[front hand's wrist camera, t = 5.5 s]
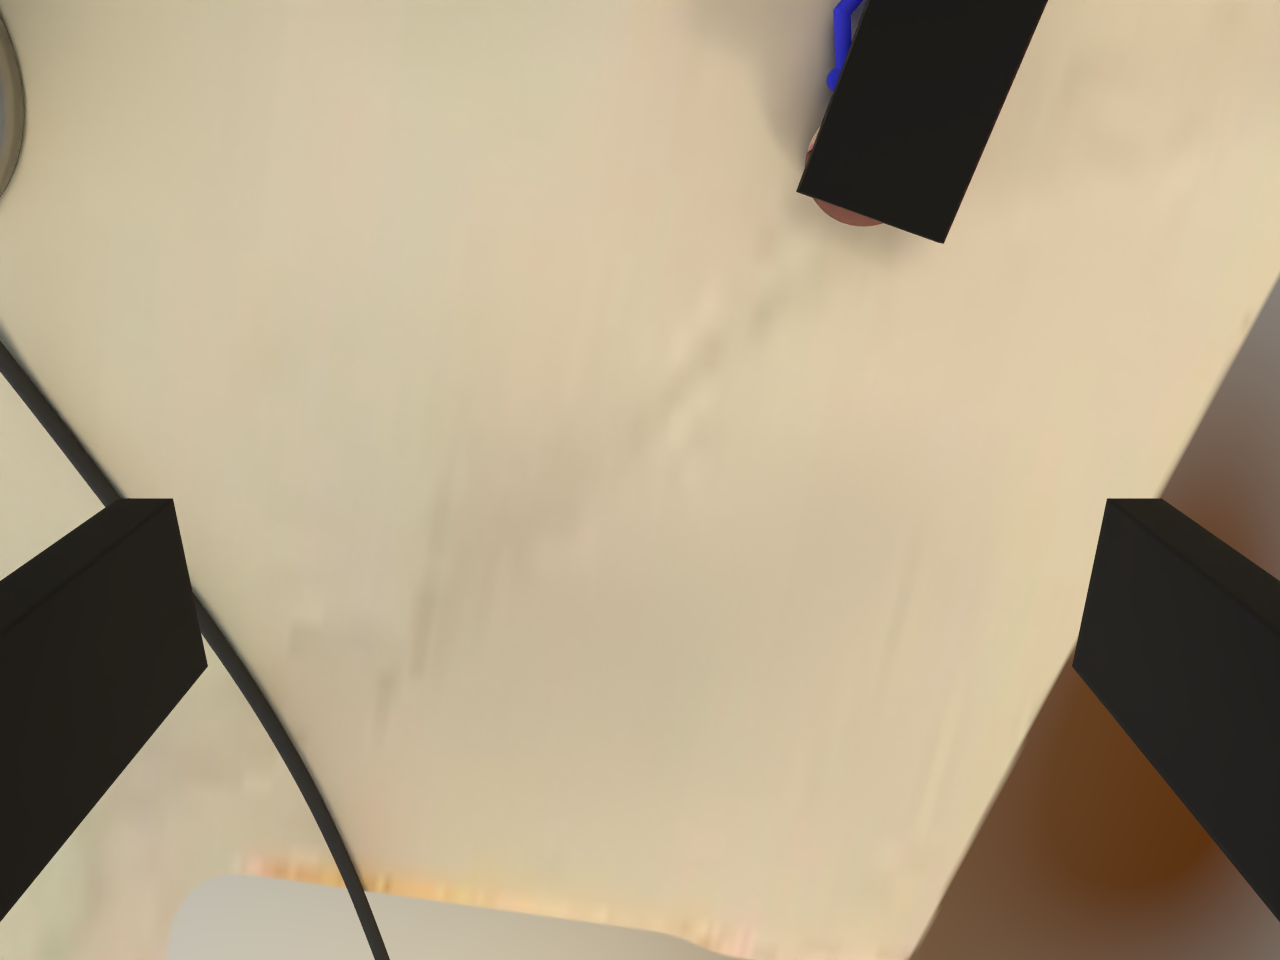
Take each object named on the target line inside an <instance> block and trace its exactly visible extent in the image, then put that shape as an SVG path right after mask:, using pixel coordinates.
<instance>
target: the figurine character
mask: <svg viewBox="0 0 1280 960" xmlns="http://www.w3.org/2000/svg"><path fill="white" fill-rule="evenodd" d="M862 1H863V0H841V1H840V2H839V4H838V5H837V6H836V7H835V8H834V41H835V68H834V69H833V70H832V71H831V72H830V73H829V74H828V76H827V85H828V87H829V88H830V89H831V90H832V91H833V94H832V97H831V99H830V102H829V105H828V107H827V110H826V113H825V115H824V118H823V121H822V124H821V126H820V127H819V129H818V130H817V131H816V133H815V135H814V136H813V138H812V140H811V143H810V145H809V148H808V151H807V156H806V163H805V169H804V172H803V175H802V178H801V180H800V183H799V186H798V188H797V191H796V192H798V193H801V194H804V195H807V196H810V197H812V198H813V199H814V200H815V202H816V203H817V204H818V206H819V207H820V208H821V209H822V210H823V211H824V212H825V213H827V214H828V215H829V216H830V217H832V218H834V219H836V220H838V221H840V222H842V223H845V224H849V225H854V226H874V225H878V224H882V223H885V224H888V225H891V226H893V227H896V228H899V229H902V230H905V231H907V232H910V233H913V234H916V235H919V236H921V237H924V238H927V239H930V240H933V241H935V242H938V243H943V244H944V242H945V239H946V237H947V235H948V232H949V230H950V228H951V225H952V223H953V221H954V218H955V216H956V214H957V211H958V209H959V207H960V204H961V202H962V200H963V197H964V195H965V193H966V190H967V188H968V186H969V183H970V181H971V179H972V176H973V174H974V172H975V169H976V167H977V165H978V162H979V160H980V158H981V155H982V153H983V151H984V148H985V146H986V144H987V141H988V139H989V137H990V134H991V132H992V130H993V127H994V125H995V123H996V120H997V118H998V116H999V113H1000V111H1001V109H1002V106H1003V104H1004V102H1005V99H1006V97H1007V95H1008V92H1009V90H1010V88H1011V85H1012V83H1013V81H1014V78H1015V76H1016V74H1017V71H1018V69H1019V67H1020V64H1021V62H1022V60H1023V57H1024V55H1025V53H1026V50H1027V48H1028V46H1029V43H1030V41H1031V39H1032V36H1033V34H1034V32H1035V29H1036V27H1037V25H1038V22H1039V20H1040V18H1041V15H1042V13H1043V11H1044V8H1045V6H1046V4H1047V1H1048V0H867V2H866V5H865V8H864V10H863V13H862V16H861V18H860V21H859V24H858V27H857V29H856V32H855V35H854V37H853V40H852V43H851V14H852V13H853V12H854V10H855V9H856V8H857V7H858V6H859V4H860V3H861V2H862Z"/></svg>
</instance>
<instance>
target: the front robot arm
mask: <svg viewBox="0 0 1280 960" xmlns="http://www.w3.org/2000/svg"><path fill="white" fill-rule="evenodd" d="M22 133H23V94H22V85H21V80H20V74H19V69H18V65H17V61H16V57H15V54H14V50H13V47H12V44H11V41H10V38H9V36H8V33H7V30H6V27H5V25H4V23H3V21H2V19H1V17H0V196H1V195H2V193H3V192H4V190H5V188H6V187H7V185H8V182H9V180H10V178H11V176H12V174H13V171H14V168H15V165H16V162H17V159H18V156H19V151H20V146H21V142H22ZM0 372H1V373H2V374H3V376H4V377H5V378H6V379H7V381H8V382H9V383H10V384H11V386H12V387H13V388H14V390H15V391H16V392H17V393H18V395H19V396H20V397H21V398H22V400H23V401H24V402H25V404H26V405H27V406H28V407H29V409H30V410H31V411H32V413H33V414H34V415H35V416H36V418H37V419H38V420H39V422H40V423H41V424H42V425H43V427H44V428H45V429H46V431H47V432H48V433H49V434H50V436H51V437H52V438H53V440H54V441H55V442H56V443H57V445H58V446H59V447H60V449H61V450H62V451H63V452H64V454H65V455H66V456H67V458H68V459H69V460H70V462H71V463H72V464H73V465H74V467H75V468H76V469H77V471H78V472H79V473H80V475H81V476H82V477H83V478H84V480H85V481H86V482H87V484H88V485H89V486H90V488H91V489H92V490H93V492H94V493H95V494H96V495H97V497H98V498H99V499H100V501H101V502H102V503H103V505H104V506H105V507H106V508H104V509H103V510H101V511H100V512H98V513H97V514H96V515H94V516H93V517H91V518H90V519H88V520H87V521H86V522H84V523H83V524H81V525H80V526H78V527H77V528H76V529H74V530H73V531H71V532H70V533H68V534H67V535H66V536H64V537H63V538H61V539H60V540H58V541H57V542H56V543H54V544H53V545H51V546H50V547H48V548H47V549H45V550H44V551H43V552H41V553H40V554H38V555H37V556H35V557H34V558H33V559H31V560H30V561H28V562H27V563H25V564H24V565H23V566H21V567H20V568H18V569H17V570H15V571H14V572H13V573H11V574H10V575H8V576H7V577H5V578H4V579H3V580H1V581H0V922H1V920H2V919H3V918H4V917H5V915H6V914H7V913H8V912H9V910H10V909H11V908H12V907H13V906H14V904H15V903H16V902H17V901H18V899H19V898H20V897H21V896H22V894H23V893H24V892H25V891H26V890H27V888H28V887H29V886H30V885H31V883H32V882H33V881H34V880H35V878H36V877H37V876H38V875H39V874H40V872H41V871H42V870H43V869H44V867H45V866H46V865H47V864H48V862H49V861H50V860H51V859H52V858H53V856H54V855H55V854H56V853H57V851H58V850H59V849H60V848H61V846H62V845H63V844H64V843H65V842H66V840H67V839H68V838H69V837H70V835H71V834H72V833H73V832H74V830H75V829H76V828H77V827H78V826H79V824H80V823H81V822H82V821H83V819H84V818H85V817H86V816H87V814H88V813H89V812H90V811H91V810H92V808H93V807H94V806H95V805H96V803H97V802H98V801H99V800H100V798H101V797H102V796H103V795H104V794H105V792H106V791H107V790H108V789H109V787H110V786H111V785H112V784H113V782H114V781H115V780H116V779H117V777H118V776H119V775H120V774H121V773H122V771H123V770H124V769H125V768H126V766H127V765H128V764H129V763H130V761H131V760H132V759H133V758H134V757H135V755H136V754H137V753H138V752H139V750H140V749H141V748H142V747H143V745H144V744H145V743H146V742H147V741H148V739H149V738H150V737H151V736H152V734H153V733H154V732H155V731H156V729H157V728H158V727H159V726H160V725H161V723H162V722H163V721H164V720H165V718H166V717H167V716H168V715H169V713H170V712H171V711H172V710H173V709H174V707H175V706H176V705H177V704H178V702H179V701H180V700H181V699H182V697H183V696H184V695H185V694H186V693H187V691H188V690H189V689H190V688H191V686H192V685H193V684H194V683H195V681H196V680H197V679H198V678H199V677H200V675H201V674H202V673H203V672H204V670H205V669H206V668H207V667H208V665H207V660H206V655H205V651H204V646H203V641H202V636H201V633H202V635H203V636H204V638H205V639H206V640H207V642H208V643H209V645H210V646H211V648H212V649H213V650H214V652H215V653H216V655H217V656H218V658H219V659H220V661H221V662H222V663H223V665H224V666H225V668H226V669H227V671H228V672H229V674H230V675H231V677H232V678H233V680H234V681H235V683H236V684H237V686H238V687H239V689H240V690H241V692H242V693H243V695H244V696H245V698H246V699H247V701H248V702H249V704H250V705H251V707H252V709H253V710H254V712H255V713H256V715H257V717H258V718H259V720H260V721H261V723H262V725H263V726H264V728H265V730H266V731H267V733H268V735H269V736H270V738H271V740H272V741H273V743H274V745H275V746H276V748H277V750H278V752H279V753H280V755H281V757H282V758H283V760H284V762H285V764H286V765H287V767H288V769H289V771H290V772H291V774H292V776H293V778H294V780H295V781H296V783H297V785H298V787H299V789H300V791H301V792H302V794H303V796H304V798H305V800H306V802H307V804H308V806H309V808H310V810H311V812H312V814H313V816H314V818H315V820H316V822H317V824H318V826H319V828H320V830H321V832H322V834H323V836H324V839H325V841H326V843H327V845H328V847H329V849H330V851H331V853H332V856H333V858H334V860H335V862H336V864H337V866H338V869H339V871H340V873H341V875H342V878H343V880H344V882H345V885H346V887H347V889H348V892H349V894H350V897H351V899H352V902H353V904H354V907H355V909H356V912H357V914H358V917H359V919H360V922H361V925H362V927H363V930H364V932H365V935H366V937H367V940H368V943H369V945H370V948H371V950H372V953H373V956H374V958H375V960H390V959H389V956H388V953H387V951H386V948H385V945H384V943H383V940H382V937H381V934H380V932H379V929H378V927H377V924H376V921H375V919H374V916H373V913H372V911H371V908H370V905H369V903H368V900H367V898H366V895H365V893H364V890H363V888H362V885H361V883H360V880H359V878H358V875H357V873H356V871H355V868H354V866H353V864H352V861H351V859H350V857H349V855H348V852H347V850H346V848H345V846H344V844H343V841H342V839H341V837H340V835H339V833H338V831H337V829H336V826H335V824H334V822H333V820H332V818H331V816H330V814H329V812H328V810H327V808H326V806H325V804H324V801H323V799H322V797H321V796H320V794H319V792H318V790H317V788H316V786H315V784H314V782H313V780H312V778H311V776H310V774H309V773H308V771H307V769H306V767H305V765H304V764H303V762H302V760H301V758H300V756H299V755H298V753H297V751H296V749H295V748H294V746H293V744H292V742H291V741H290V739H289V737H288V735H287V734H286V732H285V730H284V729H283V727H282V725H281V723H280V722H279V720H278V718H277V717H276V715H275V713H274V712H273V710H272V708H271V707H270V705H269V704H268V702H267V700H266V699H265V697H264V696H263V694H262V692H261V691H260V689H259V688H258V686H257V685H256V683H255V682H254V680H253V678H252V677H251V675H250V674H249V672H248V671H247V669H246V668H245V666H244V665H243V663H242V662H241V660H240V659H239V657H238V656H237V655H236V653H235V652H234V650H233V649H232V647H231V646H230V644H229V643H228V641H227V640H226V638H225V637H224V636H223V634H222V633H221V631H220V630H219V628H218V627H217V626H216V624H215V623H214V621H213V620H212V618H211V617H210V616H209V614H208V613H207V611H206V610H205V609H204V607H203V606H202V604H201V603H200V602H199V600H198V599H197V598H196V596H195V595H194V594H193V592H192V588H191V583H190V579H189V574H188V569H187V564H186V559H185V555H184V550H183V545H182V540H181V535H180V531H179V526H178V521H177V516H176V511H175V507H174V502H173V499H121V498H120V496H119V495H118V494H117V492H116V491H115V490H114V488H113V487H112V486H111V484H110V483H109V482H108V480H107V479H106V478H105V476H104V475H103V474H102V472H101V471H100V470H99V468H98V467H97V466H96V465H95V463H94V462H93V461H92V459H91V458H90V457H89V455H88V454H87V453H86V451H85V450H84V449H83V447H82V446H81V445H80V443H79V442H78V441H77V440H76V438H75V437H74V436H73V434H72V433H71V432H70V430H69V429H68V428H67V426H66V425H65V424H64V423H63V421H62V420H61V419H60V417H59V416H58V415H57V413H56V412H55V411H54V410H53V408H52V407H51V406H50V404H49V403H48V402H47V400H46V399H45V398H44V397H43V395H42V394H41V393H40V391H39V390H38V389H37V387H36V386H35V385H34V384H33V382H32V381H31V380H30V378H29V377H28V376H27V374H26V373H25V372H24V371H23V369H22V368H21V367H20V365H19V364H18V363H17V362H16V360H15V359H14V358H13V356H12V355H11V354H10V353H9V351H8V350H7V349H6V348H5V346H4V345H3V344H2V342H1V341H0ZM1072 667H1073V668H1074V669H1075V670H1076V672H1077V673H1078V674H1079V675H1080V677H1081V678H1082V679H1083V680H1084V681H1085V683H1086V684H1087V685H1088V686H1089V687H1090V689H1091V690H1092V691H1093V693H1094V694H1095V695H1096V696H1097V697H1098V699H1099V700H1100V701H1101V702H1102V704H1103V705H1104V706H1105V707H1106V709H1107V710H1108V711H1109V712H1110V713H1111V715H1112V716H1113V717H1114V718H1115V720H1116V721H1117V722H1118V723H1119V725H1120V726H1121V727H1122V728H1123V729H1124V731H1125V732H1126V733H1127V734H1128V736H1129V737H1130V738H1131V739H1132V740H1133V742H1134V743H1135V744H1136V745H1137V747H1138V748H1139V749H1140V750H1141V752H1142V753H1143V754H1144V755H1145V757H1146V758H1147V759H1148V760H1149V761H1150V763H1151V764H1152V765H1153V766H1154V768H1155V769H1156V770H1157V771H1158V773H1159V774H1160V775H1161V776H1162V777H1163V779H1164V780H1165V781H1166V782H1167V784H1168V785H1169V786H1170V787H1171V789H1172V790H1173V791H1174V792H1175V794H1176V795H1177V796H1178V797H1179V798H1180V800H1181V801H1182V802H1183V803H1184V805H1185V806H1186V807H1187V808H1188V810H1189V811H1190V812H1191V813H1192V814H1193V816H1194V817H1195V818H1196V819H1197V821H1198V822H1199V823H1200V824H1201V826H1202V827H1203V828H1204V829H1205V830H1206V832H1207V833H1208V834H1209V835H1210V837H1211V838H1212V839H1213V840H1214V842H1215V843H1216V844H1217V845H1218V846H1219V848H1220V849H1221V850H1222V851H1223V853H1224V854H1225V855H1226V856H1227V857H1228V859H1229V860H1230V861H1231V862H1232V864H1233V865H1234V866H1235V867H1236V869H1237V870H1238V871H1239V872H1240V874H1241V875H1242V876H1243V877H1244V878H1245V880H1246V881H1247V882H1248V883H1249V885H1250V886H1251V887H1252V888H1253V890H1254V891H1255V892H1256V893H1257V894H1258V896H1259V897H1260V898H1261V899H1262V901H1263V902H1264V903H1265V904H1266V906H1267V907H1268V908H1269V909H1270V910H1271V912H1272V913H1273V914H1274V915H1275V917H1276V918H1277V919H1278V920H1279V922H1280V581H1279V580H1277V579H1276V578H1275V577H1273V576H1272V575H1270V574H1269V573H1267V572H1266V571H1265V570H1263V569H1262V568H1260V567H1259V566H1257V565H1256V564H1255V563H1253V562H1252V561H1250V560H1249V559H1247V558H1246V557H1245V556H1243V555H1242V554H1240V553H1239V552H1237V551H1236V550H1235V549H1233V548H1232V547H1230V546H1229V545H1227V544H1226V543H1224V542H1223V541H1222V540H1220V539H1219V538H1217V537H1216V536H1214V535H1213V534H1212V533H1210V532H1209V531H1207V530H1206V529H1204V528H1203V527H1202V526H1200V525H1199V524H1197V523H1196V522H1194V521H1193V520H1192V519H1190V518H1189V517H1187V516H1186V515H1184V514H1183V513H1182V512H1180V511H1179V510H1177V509H1176V508H1174V507H1173V506H1172V505H1170V504H1169V503H1167V502H1166V501H1164V500H1163V499H1107V502H1106V507H1105V511H1104V516H1103V521H1102V526H1101V531H1100V535H1099V540H1098V545H1097V550H1096V555H1095V559H1094V564H1093V569H1092V574H1091V579H1090V583H1089V588H1088V593H1087V598H1086V603H1085V607H1084V612H1083V617H1082V622H1081V627H1080V631H1079V636H1078V641H1077V646H1076V651H1075V655H1074V660H1073V665H1072Z"/></svg>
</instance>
